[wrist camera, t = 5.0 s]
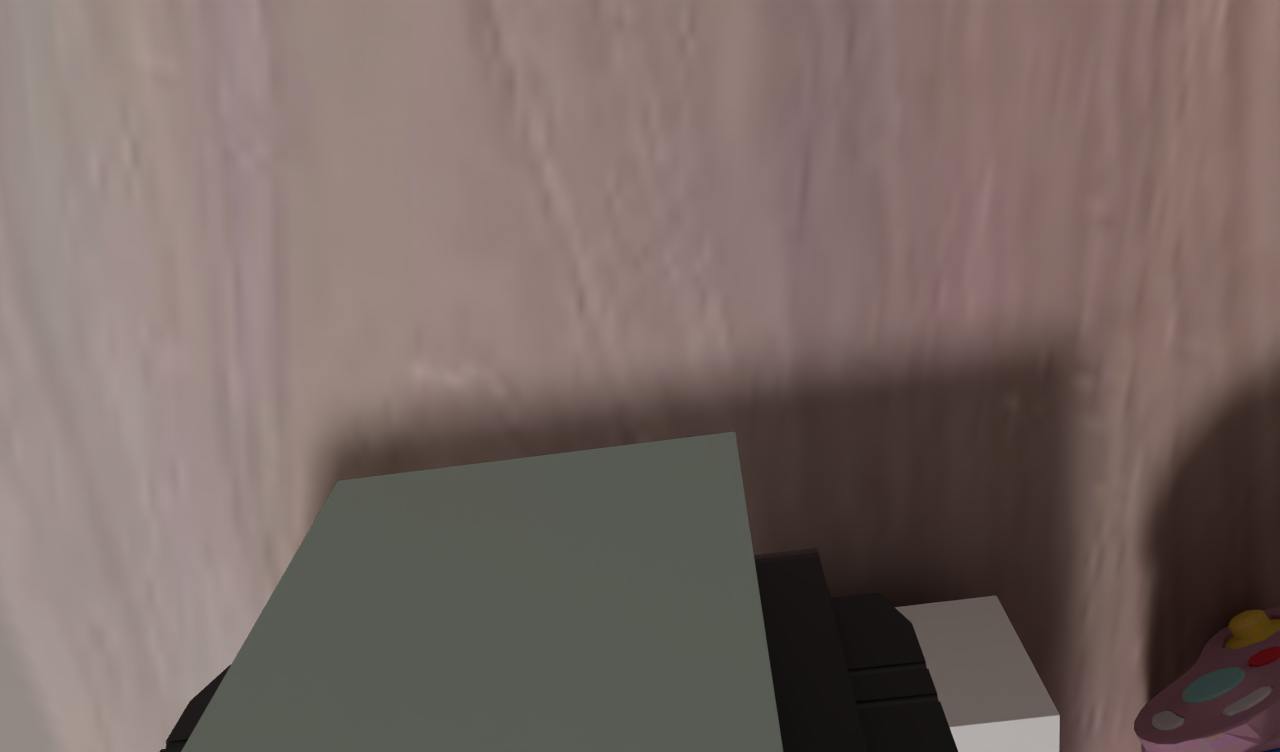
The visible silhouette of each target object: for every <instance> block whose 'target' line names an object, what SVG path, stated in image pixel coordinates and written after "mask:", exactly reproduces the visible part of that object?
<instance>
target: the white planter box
mask: <svg viewBox="0 0 1280 752" xmlns="http://www.w3.org/2000/svg"><path fill="white" fill-rule="evenodd" d="M895 608H896V609H897V610H898V611H899V612H900V613H901V614H903V615H904V616H905V617H906V618H907V619H908V620H909V621H910V622H911V623H912V625H913V627H914V630H915V633H916V636H917V638H918V641H919V644H920V647H921V650H922V652H923V655H924V658H925V661H926V667H927V669H929V672H930V674H931V677H932V680H933V683H934V686H935V688H936V691H937V696H938V701H940V702H941V705H942V708H943V711H944V713H945V716H946V719H947V722H948V724H949V727H950V730H951V733H952V736H953V738H954V741H955V744H956V747H957V749H958V752H1059V735H1060V714H1059V713H1058V711H1057V709H1056V707H1055V705H1054V703H1053V701H1052V699H1051V698H1050V696H1049V694H1048V692H1047V690H1046V688H1045V686H1044V684H1043V682H1042V681H1041V679H1040V677H1039V675H1038V673H1037V671H1036V669H1035V667H1034V665H1033V664H1032V662H1031V660H1030V658H1029V656H1028V654H1027V652H1026V650H1025V648H1024V647H1023V645H1022V643H1021V641H1020V639H1019V637H1018V635H1017V633H1016V632H1015V630H1014V628H1013V626H1012V624H1011V622H1010V620H1009V618H1008V616H1007V615H1006V613H1005V611H1004V609H1003V607H1002V605H1001V603H1000V601H999V599H998V598H997V596H987V597H979V598H970V599H962V600H953V601H944V602H936V603H927V604H919V605H910V606H902V607H895Z"/></svg>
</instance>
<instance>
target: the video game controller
mask: <svg viewBox="0 0 1280 752" xmlns="http://www.w3.org/2000/svg"><path fill="white" fill-rule="evenodd" d="M1134 730H1135V732H1136V734H1137V736H1138V738H1139V739H1140V741H1141V743H1142V745H1141V749H1142V752H1280V607H1273V608H1269V609H1266V610H1264V611H1262V610H1247V611H1244V612H1242V613H1240V614H1238V615H1236V616H1235V617H1233V618H1232V619H1231V621H1230V623H1229V626H1227V627H1225V628H1224V629H1222V630H1220V631H1219V632H1218V633H1216V634H1215V635H1214V636H1213V637H1212V638H1211V639H1210V640H1209V641H1208V642H1207V643H1206V644H1205V646H1204V648H1203V650H1202V652H1201V654H1200V656H1199V658H1198V660H1197V662H1196V663H1195V664H1194V665H1193V666H1192V667H1191V668H1190V669H1189V670H1188V671H1187V672H1186V673H1184V674H1183V675H1182V676H1181V677H1179V678H1178V679H1177V680H1175V681H1174V682H1173V683H1171V684H1170V685H1169V686H1167V687H1166V688H1165V689H1164V690H1162V691H1161V692H1160V693H1158V694H1157V695H1156V696H1155V697H1154V698H1152V699H1151V700H1150V701H1149V702H1148V703H1147V704H1146V705H1145V706H1144V707H1143V709H1142V710H1141V711H1140V713H1139V714H1138V716H1137V718H1136V720H1135V722H1134Z"/></svg>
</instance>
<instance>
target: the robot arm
mask: <svg viewBox="0 0 1280 752" xmlns="http://www.w3.org/2000/svg"><path fill="white" fill-rule="evenodd" d="M754 560H755V567H756V573H757V580H758V587H759V593H760V600H761V607H762V613H763V620H764V627H765V633H766V640H767V647H768V653H769V660H770V667H771V674H772V680H773V687H774V694H775V700H776V707H777V714H778V720H779V727H780V734H781V740H782V747H783V752H958V749H957V747H956V744H955V741H954V738H953V736H952V733H951V730H950V727H949V724H948V722H947V719H946V716H945V713H944V711H943V708H942V705H941V702H940V701H938V696H937V691H936V688H935V686H934V683H933V680H932V677H931V674H930V672H929V669H927V667H926V661H925V658H924V655H923V652H922V650H921V647H920V644H919V641H918V638H917V636H916V633H915V630H914V627H913V625H912V623H911V622H910V621H909V620H908V619H907V618H906V617H905V616H904V615H903V614H901V613H900V612H899V611H898V610H897V609H896V608H895V607H894V606H892V605H891V604H890V603H889V602H888V601H887V600H886V599H885V598H884V597H882V596H881V595H880V594H879V593H874V594H865V595H856V596H847V597H838V598H830V597H829V593H828V589H827V585H826V581H825V577H824V573H823V569H822V565H821V561H820V557H819V553H818V550H817V549H816V548H815V549H806V550H797V551H789V552H780V553H771V554H763V555H754ZM230 666H231V665H230ZM230 666H229V667H227V668H226V669H225V670H224V671H223V672H222V673H221V674H220V675H219V676H217V677H216V678H215V679H214V680H213V681H212V682H211V683H210V684H209V685H207V686H206V687H205V688H204V689H203V690H202V691H201V692H200V693H199V694H197V695H196V696H195V697H194V698H193V699H192V700H191V701H190V702H189V704H188V705H187V707H186V709H185V710H184V712H183V714H182V715H181V717H180V719H179V720H178V722H177V724H176V725H175V727H174V729H173V730H172V732H171V734H170V735H169V737H168V739H167V740H166V749H161V750H160V752H181V751H182V749H183V748H184V746H185V744H186V742H187V741H188V739H189V737H190V735H191V734H192V732H193V730H194V729H195V727H196V725H197V723H198V722H199V720H200V718H201V716H202V715H203V713H204V711H205V710H206V708H207V706H208V704H209V703H210V701H211V699H212V697H213V696H214V694H215V692H216V690H217V689H218V687H219V685H220V684H221V682H222V680H223V678H224V677H225V675H226V673H227V671H228V670H229V668H230Z"/></svg>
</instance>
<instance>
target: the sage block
mask: <svg viewBox="0 0 1280 752" xmlns="http://www.w3.org/2000/svg"><path fill="white" fill-rule="evenodd" d="M181 752H783V747H782V740H781V734H780V727H779V720H778V714H777V707H776V700H775V694H774V687H773V680H772V674H771V667H770V660H769V653H768V647H767V640H766V633H765V627H764V620H763V613H762V607H761V600H760V593H759V587H758V580H757V573H756V567H755V560H754V553H753V547H752V540H751V533H750V527H749V520H748V513H747V507H746V500H745V493H744V487H743V480H742V473H741V467H740V460H739V453H738V447H737V440H736V433H735V431H734V432H726V433H718V434H710V435H702V436H694V437H686V438H678V439H670V440H662V441H653V442H645V443H637V444H629V445H621V446H613V447H605V448H597V449H589V450H581V451H573V452H565V453H557V454H549V455H541V456H533V457H525V458H517V459H509V460H500V461H492V462H484V463H476V464H468V465H460V466H452V467H444V468H436V469H428V470H420V471H412V472H404V473H396V474H388V475H380V476H372V477H364V478H356V479H348V480H339V481H337V483H336V485H335V486H334V488H333V490H332V491H331V493H330V495H329V497H328V498H327V500H326V502H325V504H324V505H323V507H322V509H321V510H320V512H319V514H318V516H317V517H316V519H315V521H314V523H313V524H312V526H311V528H310V530H309V531H308V533H307V535H306V536H305V538H304V540H303V542H302V543H301V545H300V547H299V549H298V550H297V552H296V554H295V555H294V557H293V559H292V561H291V562H290V564H289V566H288V568H287V569H286V571H285V573H284V575H283V576H282V578H281V580H280V581H279V583H278V585H277V587H276V588H275V590H274V592H273V594H272V595H271V597H270V599H269V600H268V602H267V604H266V606H265V607H264V609H263V611H262V613H261V614H260V616H259V618H258V620H257V621H256V623H255V625H254V626H253V628H252V630H251V632H250V633H249V635H248V637H247V639H246V640H245V642H244V644H243V645H242V647H241V649H240V651H239V652H238V654H237V656H236V658H235V659H234V661H233V663H232V665H231V666H230V668H229V670H228V671H227V673H226V675H225V677H224V678H223V680H222V682H221V684H220V685H219V687H218V689H217V690H216V692H215V694H214V696H213V697H212V699H211V701H210V703H209V704H208V706H207V708H206V710H205V711H204V713H203V715H202V716H201V718H200V720H199V722H198V723H197V725H196V727H195V729H194V730H193V732H192V734H191V735H190V737H189V739H188V741H187V742H186V744H185V746H184V748H183V749H182V751H181Z"/></svg>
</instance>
